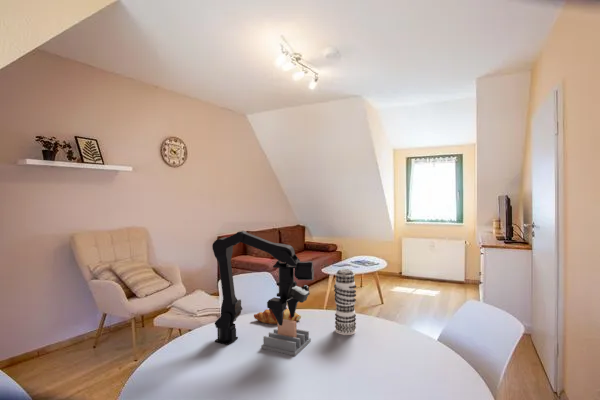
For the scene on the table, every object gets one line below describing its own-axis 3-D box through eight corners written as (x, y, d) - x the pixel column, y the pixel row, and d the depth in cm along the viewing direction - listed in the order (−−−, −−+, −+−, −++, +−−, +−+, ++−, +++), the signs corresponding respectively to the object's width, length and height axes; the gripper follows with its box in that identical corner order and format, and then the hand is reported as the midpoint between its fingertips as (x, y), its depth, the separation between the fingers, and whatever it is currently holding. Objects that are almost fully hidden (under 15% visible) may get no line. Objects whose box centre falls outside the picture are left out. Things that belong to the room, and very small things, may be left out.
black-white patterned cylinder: (353, 325, 140) (352, 267, 140) (359, 334, 131) (359, 272, 131) (332, 327, 139) (331, 268, 139) (337, 336, 129) (336, 273, 129)
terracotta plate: (277, 341, 123) (277, 320, 123) (280, 339, 125) (280, 318, 125) (294, 344, 120) (293, 323, 120) (296, 342, 122) (296, 321, 122)
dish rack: (261, 348, 120) (261, 337, 120) (279, 334, 131) (278, 324, 131) (295, 355, 113) (295, 344, 113) (310, 341, 125) (310, 330, 125)
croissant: (300, 326, 149) (300, 307, 153) (301, 323, 141) (301, 304, 144) (254, 326, 149) (255, 307, 153) (252, 323, 140) (253, 303, 144)
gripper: (294, 287, 110) (294, 334, 110) (315, 275, 127) (316, 316, 127) (265, 284, 115) (266, 328, 115) (290, 273, 132) (291, 312, 132)
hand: (286, 321), depth 122 cm, fingers open, 9 cm apart
